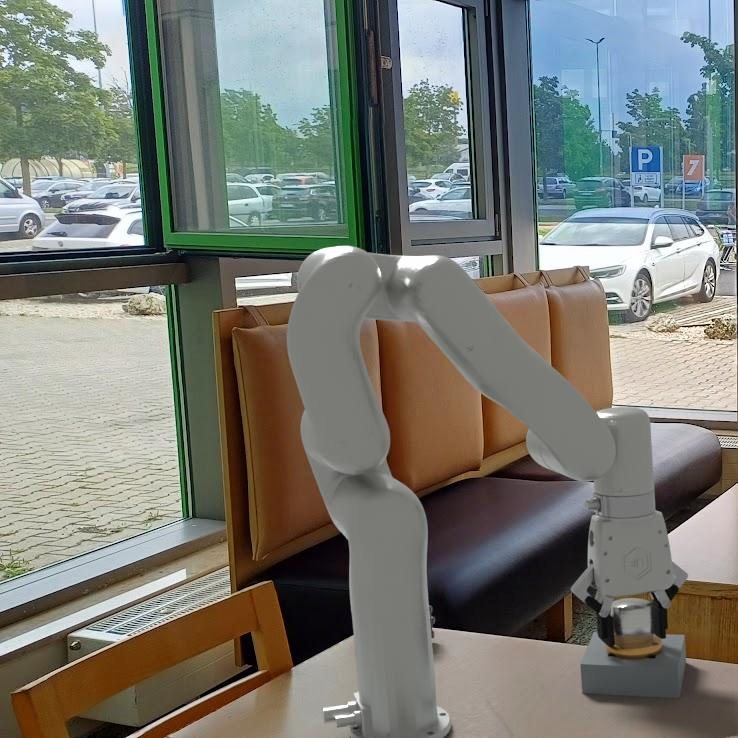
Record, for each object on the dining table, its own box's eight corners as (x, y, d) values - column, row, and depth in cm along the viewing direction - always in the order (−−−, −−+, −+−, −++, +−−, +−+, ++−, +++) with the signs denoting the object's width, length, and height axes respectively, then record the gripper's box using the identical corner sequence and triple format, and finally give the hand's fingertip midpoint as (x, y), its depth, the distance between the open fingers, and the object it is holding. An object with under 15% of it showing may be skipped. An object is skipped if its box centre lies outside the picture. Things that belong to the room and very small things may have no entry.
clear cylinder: (620, 691, 145) (616, 616, 144) (598, 671, 152) (594, 600, 151) (673, 683, 146) (669, 608, 145) (649, 663, 153) (645, 592, 152)
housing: (680, 707, 142) (677, 668, 141) (582, 702, 146) (580, 664, 145) (686, 671, 153) (684, 634, 152) (596, 667, 157) (593, 631, 156)
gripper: (571, 519, 142) (580, 658, 143) (701, 502, 145) (708, 639, 146) (550, 506, 149) (559, 639, 151) (674, 490, 152) (682, 621, 154)
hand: (633, 638), depth 149 cm, fingers open, 6 cm apart
